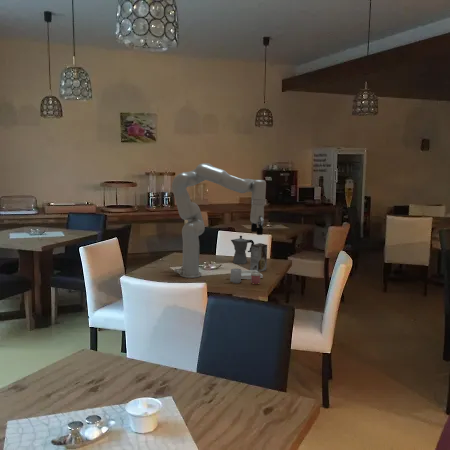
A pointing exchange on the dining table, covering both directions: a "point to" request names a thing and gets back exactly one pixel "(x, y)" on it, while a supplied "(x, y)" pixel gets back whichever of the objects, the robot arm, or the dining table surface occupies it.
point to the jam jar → (255, 277)
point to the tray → (248, 274)
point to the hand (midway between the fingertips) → (256, 233)
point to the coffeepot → (240, 250)
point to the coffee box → (258, 257)
